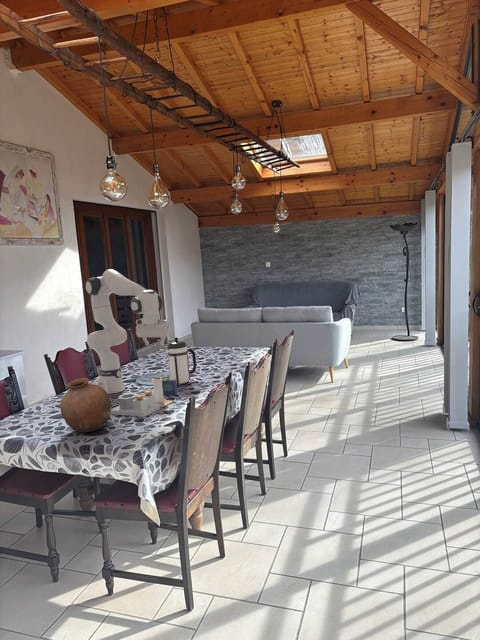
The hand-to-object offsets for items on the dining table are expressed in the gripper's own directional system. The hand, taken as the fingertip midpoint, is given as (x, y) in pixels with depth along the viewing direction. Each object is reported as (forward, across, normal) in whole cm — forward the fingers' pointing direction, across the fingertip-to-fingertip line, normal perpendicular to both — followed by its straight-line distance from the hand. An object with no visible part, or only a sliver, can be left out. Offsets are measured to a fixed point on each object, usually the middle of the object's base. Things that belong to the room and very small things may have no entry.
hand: (154, 345), depth 257 cm
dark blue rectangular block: (+33, +5, -17) cm, 38 cm away
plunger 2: (+30, +1, +9) cm, 31 cm away
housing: (+33, +7, +13) cm, 36 cm away
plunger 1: (+30, +1, +17) cm, 34 cm away
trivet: (+33, 0, 0) cm, 33 cm away
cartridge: (+32, 0, 0) cm, 33 cm away
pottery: (+33, +13, +42) cm, 55 cm away
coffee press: (+33, +11, -40) cm, 53 cm away
